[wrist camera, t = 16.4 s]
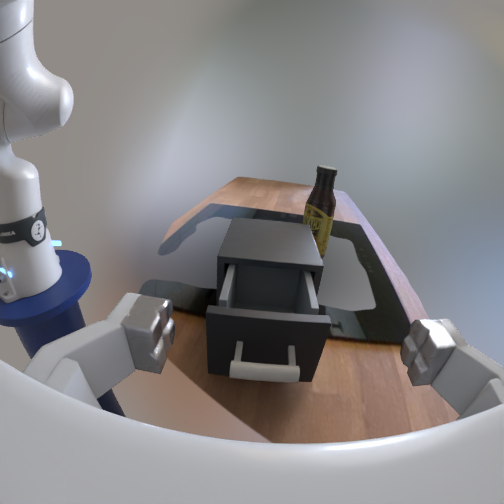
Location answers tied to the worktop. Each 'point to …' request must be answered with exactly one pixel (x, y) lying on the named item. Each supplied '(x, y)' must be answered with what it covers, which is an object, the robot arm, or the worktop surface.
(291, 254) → the cabinet
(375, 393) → the worktop surface
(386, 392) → the worktop surface
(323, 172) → the sauce bottle
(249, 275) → the drawer
